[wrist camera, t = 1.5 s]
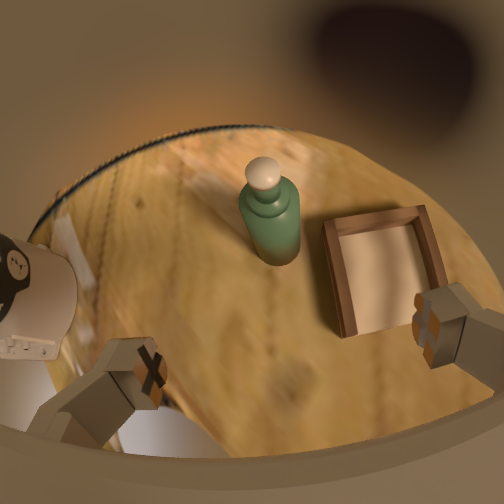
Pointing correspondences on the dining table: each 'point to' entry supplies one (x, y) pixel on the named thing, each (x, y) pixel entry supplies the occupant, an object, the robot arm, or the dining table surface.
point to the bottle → (271, 212)
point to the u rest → (381, 267)
